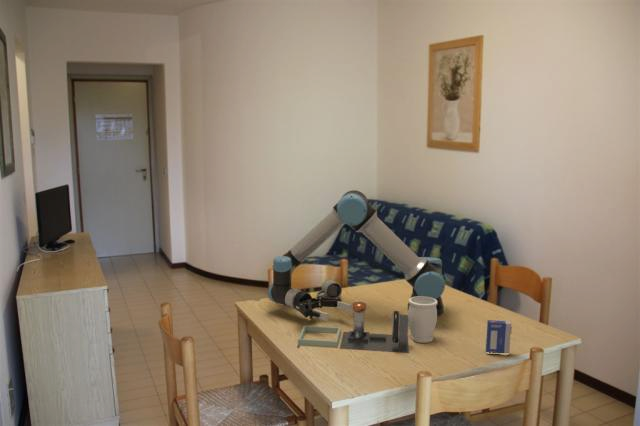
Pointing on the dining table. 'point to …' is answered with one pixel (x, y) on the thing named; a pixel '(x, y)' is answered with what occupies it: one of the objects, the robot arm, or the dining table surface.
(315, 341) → the tray
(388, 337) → the pulley plate
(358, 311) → the copper-capped metal cylinder
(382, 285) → the dining table surface
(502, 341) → the walkman
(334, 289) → the ceramic mug
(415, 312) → the jar
